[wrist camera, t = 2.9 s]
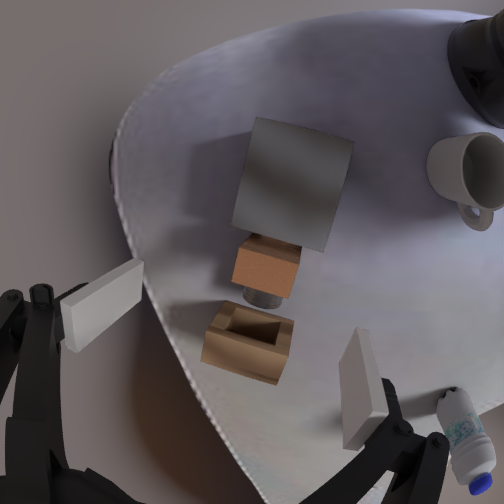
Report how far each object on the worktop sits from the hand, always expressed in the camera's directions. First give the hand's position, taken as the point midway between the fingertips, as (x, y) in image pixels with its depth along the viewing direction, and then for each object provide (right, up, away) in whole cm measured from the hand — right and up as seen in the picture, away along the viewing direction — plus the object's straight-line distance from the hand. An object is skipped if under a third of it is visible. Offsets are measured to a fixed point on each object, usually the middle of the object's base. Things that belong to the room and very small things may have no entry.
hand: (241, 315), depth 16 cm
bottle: (+33, -20, +18) cm, 43 cm away
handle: (+4, +7, +15) cm, 17 cm away
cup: (+24, +12, +11) cm, 29 cm away
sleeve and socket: (+4, +4, +17) cm, 18 cm away
